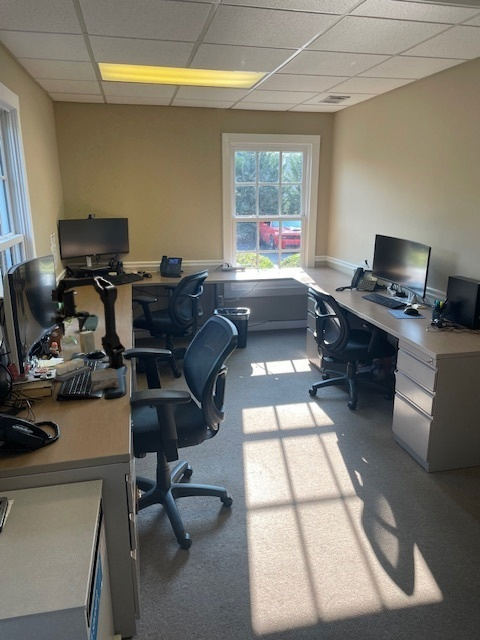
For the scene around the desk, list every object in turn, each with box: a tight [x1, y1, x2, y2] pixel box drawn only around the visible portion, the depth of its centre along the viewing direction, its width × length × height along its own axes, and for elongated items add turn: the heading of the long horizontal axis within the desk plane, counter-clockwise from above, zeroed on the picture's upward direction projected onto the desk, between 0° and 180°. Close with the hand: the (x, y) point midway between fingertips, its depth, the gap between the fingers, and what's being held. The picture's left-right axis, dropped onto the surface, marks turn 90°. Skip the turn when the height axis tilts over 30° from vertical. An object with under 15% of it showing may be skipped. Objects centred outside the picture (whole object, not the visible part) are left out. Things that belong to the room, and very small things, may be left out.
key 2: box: [62, 360, 76, 372], centre depth 215 cm, size 4×4×4 cm
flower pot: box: [83, 313, 99, 331], centre depth 298 cm, size 9×9×9 cm
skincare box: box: [79, 330, 96, 354], centre depth 245 cm, size 6×4×12 cm
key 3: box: [53, 363, 67, 375], centre depth 211 cm, size 4×4×4 cm
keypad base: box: [55, 365, 91, 382], centre depth 216 cm, size 10×16×2 cm, turn 151°
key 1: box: [70, 357, 85, 368], centre depth 219 cm, size 4×4×4 cm
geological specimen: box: [90, 367, 120, 392], centre depth 202 cm, size 11×6×15 cm
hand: (72, 333), depth 233 cm, fingers open, 9 cm apart
